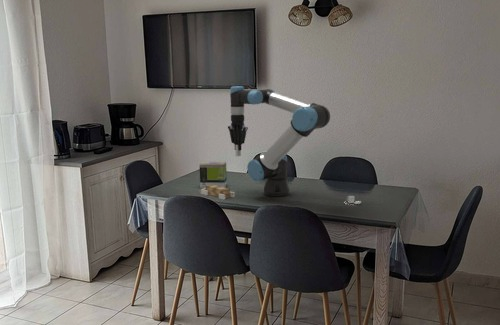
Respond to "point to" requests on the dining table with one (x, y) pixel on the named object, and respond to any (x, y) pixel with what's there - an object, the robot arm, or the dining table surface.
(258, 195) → the dining table surface
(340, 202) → the dining table surface
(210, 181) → the tea box
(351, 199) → the teacup and saucer
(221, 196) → the guide cap
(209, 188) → the tan wooden bar
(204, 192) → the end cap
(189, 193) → the dining table surface
